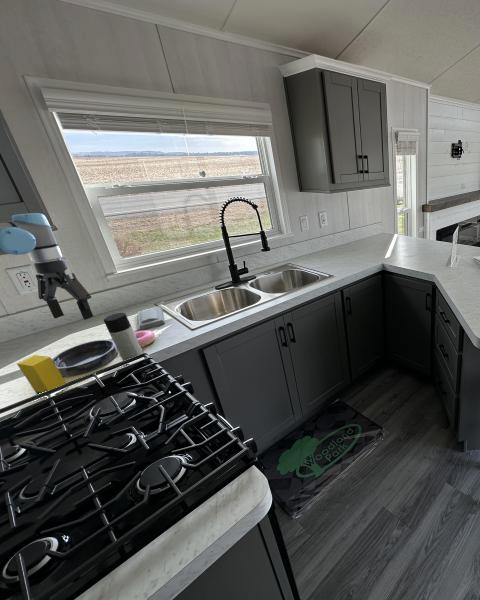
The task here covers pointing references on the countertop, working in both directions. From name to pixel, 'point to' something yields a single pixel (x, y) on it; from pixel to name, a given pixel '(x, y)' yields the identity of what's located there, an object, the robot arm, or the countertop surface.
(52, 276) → the robot arm
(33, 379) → the sponge
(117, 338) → the spray can
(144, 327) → the soap mold
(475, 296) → the countertop surface
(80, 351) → the bowl
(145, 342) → the doughnut
